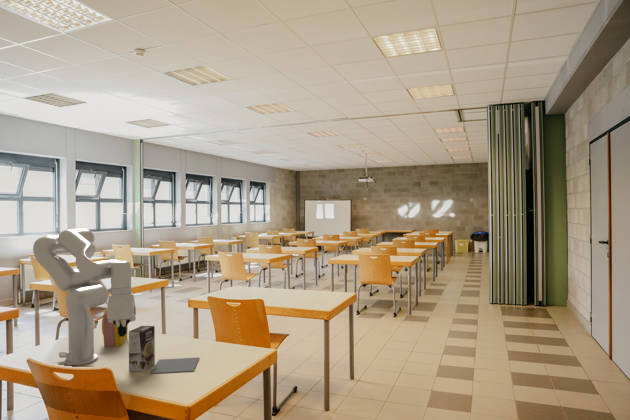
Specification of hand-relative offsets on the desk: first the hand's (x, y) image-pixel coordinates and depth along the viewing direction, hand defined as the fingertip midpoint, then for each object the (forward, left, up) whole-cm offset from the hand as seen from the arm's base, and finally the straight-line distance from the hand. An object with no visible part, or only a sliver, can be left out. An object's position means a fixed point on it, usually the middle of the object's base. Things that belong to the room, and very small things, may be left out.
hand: (122, 335), depth 172 cm
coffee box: (+8, 0, -14) cm, 16 cm away
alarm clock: (-15, +36, -14) cm, 41 cm away
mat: (+21, 0, -14) cm, 25 cm away
